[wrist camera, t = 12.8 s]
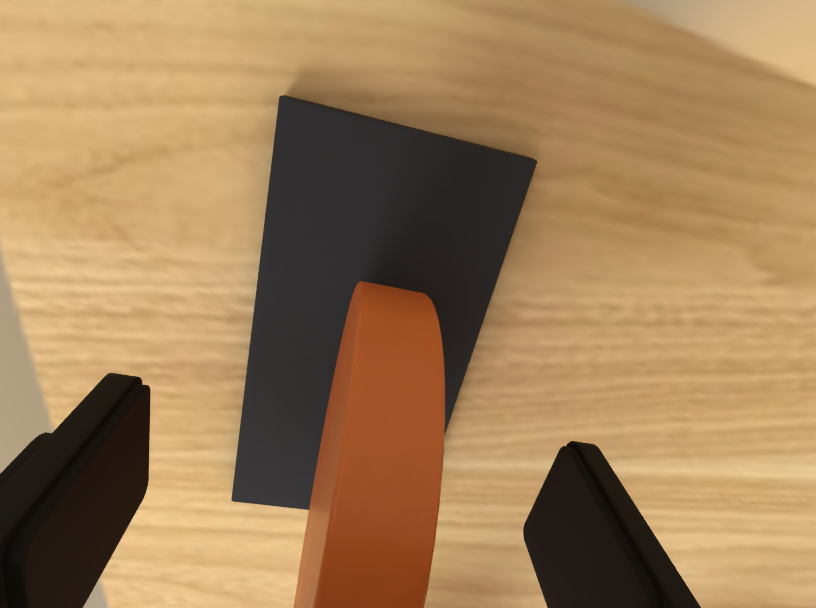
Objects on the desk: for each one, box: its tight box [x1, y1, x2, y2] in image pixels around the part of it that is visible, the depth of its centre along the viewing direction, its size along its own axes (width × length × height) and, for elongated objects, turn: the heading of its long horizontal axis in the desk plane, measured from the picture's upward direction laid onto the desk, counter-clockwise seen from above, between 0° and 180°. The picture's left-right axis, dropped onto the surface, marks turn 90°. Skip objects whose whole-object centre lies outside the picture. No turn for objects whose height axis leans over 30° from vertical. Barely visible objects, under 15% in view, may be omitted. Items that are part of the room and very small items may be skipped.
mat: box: [232, 95, 537, 510], centre depth 15 cm, size 14×7×1 cm, turn 166°
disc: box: [294, 281, 445, 608], centre depth 11 cm, size 9×2×9 cm, turn 166°
